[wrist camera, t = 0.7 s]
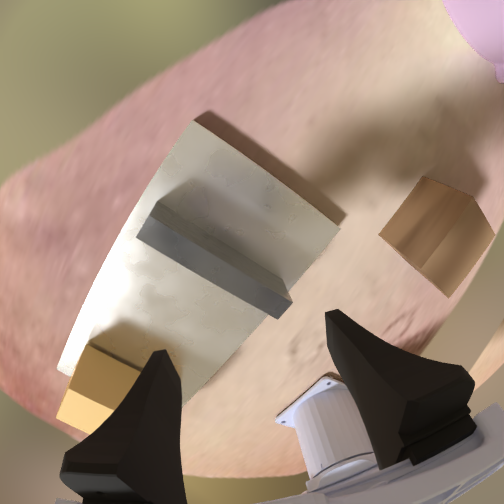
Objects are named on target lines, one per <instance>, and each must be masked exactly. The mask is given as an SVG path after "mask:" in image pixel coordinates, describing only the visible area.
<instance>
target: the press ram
mask: <svg viewBox="0 0 504 504" xmlns="http://www.w3.org/2000/svg"><path fill="white" fill-rule="evenodd" d="M140 373H141V372H140V371H138V370H136V369H134V368H132V367H130V366H128V365H125V364H123V363H121V362H119V361H117V360H115V359H114V358H112V357H110V356H108V355H106V354H104V353H102V352H100V351H98V350H96V349H95V348H93V347H91V346H89V345H87V344H86V345H85V347H84V349H83V351H82V353H81V355H80V357H79V359H78V362H77V364H76V366H75V368H74V370H73V373H72V375H71V377H70V380H69V382H68V385H67V388H66V390H65V393H64V396H63V399H62V401H61V404H60V407H59V410H58V413H57V416H56V418H57V419H59V420H61V421H63V422H65V423H67V424H69V425H71V426H73V427H75V428H77V429H80V430H82V431H84V432H86V433H88V434H92V433H93V432H94V431H95V430H96V429H97V428H98V427H99V426H100V425H101V424H102V423H103V422H104V421H105V420H106V419H107V418H108V417H109V416H110V415H111V414H112V413H113V412H114V410H115V409H116V408H117V407H118V406H119V404H120V403H121V402H122V400H123V399H124V398H125V396H126V395H127V393H128V392H129V390H130V389H131V388H132V386H133V384H134V383H135V381H136V380H137V378H138V376H139V375H140Z"/></svg>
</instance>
